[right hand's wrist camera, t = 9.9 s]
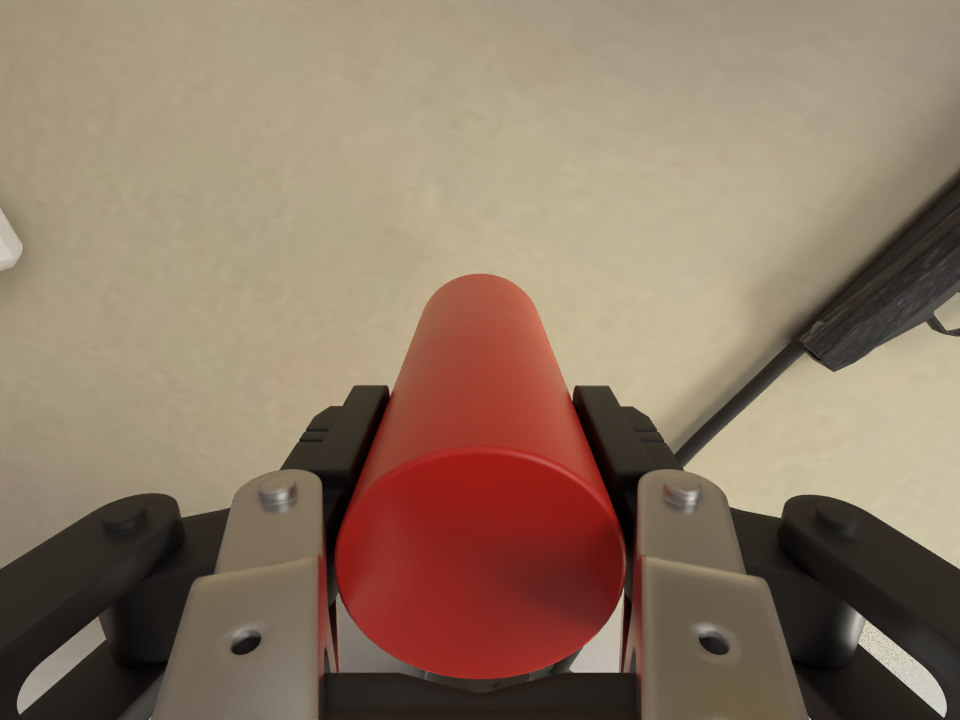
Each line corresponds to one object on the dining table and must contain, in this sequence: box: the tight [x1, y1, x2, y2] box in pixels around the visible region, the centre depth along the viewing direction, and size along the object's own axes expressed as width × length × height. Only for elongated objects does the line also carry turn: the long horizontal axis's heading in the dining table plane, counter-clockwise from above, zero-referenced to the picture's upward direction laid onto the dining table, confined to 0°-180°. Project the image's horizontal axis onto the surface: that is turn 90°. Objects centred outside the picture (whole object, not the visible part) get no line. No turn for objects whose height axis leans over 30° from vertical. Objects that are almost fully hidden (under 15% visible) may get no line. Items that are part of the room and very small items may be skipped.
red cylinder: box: [334, 274, 627, 679], centre depth 13 cm, size 4×4×11 cm
